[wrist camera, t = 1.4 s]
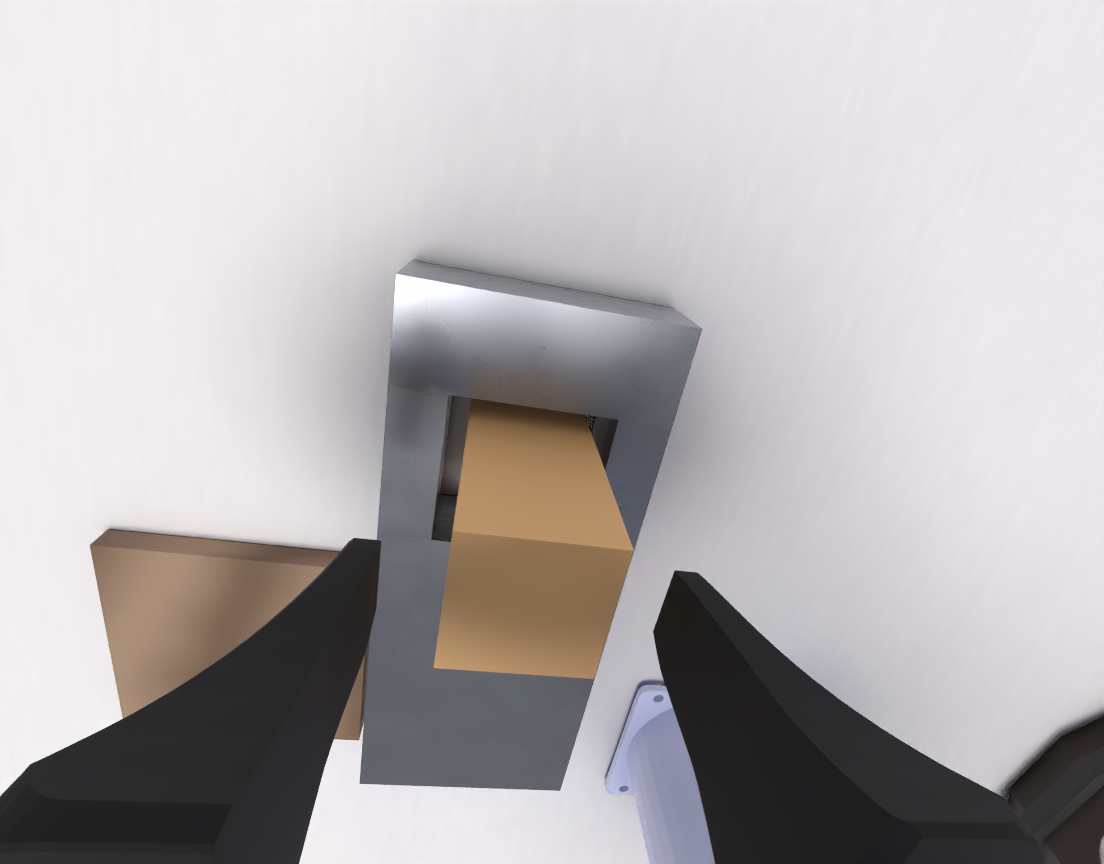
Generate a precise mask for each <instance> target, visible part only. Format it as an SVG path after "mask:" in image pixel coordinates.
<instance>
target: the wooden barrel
mask: <svg viewBox="0 0 1104 864" xmlns="http://www.w3.org/2000/svg"><path fill="white" fill-rule="evenodd" d="M1009 805H1010V806H1011V808H1012V809H1013V810H1014V811H1015V813H1016V814H1017V815H1018V816H1019V817H1020V819H1021V820H1022V821H1023V822H1024V824H1025V825H1026V826H1027V827H1028V829H1029V830H1030V831H1031V832H1032V834H1033V835H1034V836H1035V837H1036V839H1037V840H1038V841H1039V842H1040V844H1041V845H1042V846H1043V849H1044V856H1045V859H1044V864H1104V717H1102V718H1100V719H1098V720H1095V721H1093V722H1091V723H1089V724H1087V725H1085V726H1083V727H1080V728H1078V729H1076V730H1074V731H1072V732H1070V733H1068V734H1065V735H1063V736H1061V737H1060V738H1059V739H1058V740H1057V741H1056V742H1055V743H1054V744H1053V745H1052V746H1051V747H1050V748H1049V749H1048V750H1047V751H1046V752H1045V753H1044V754H1043V755H1042V756H1041V757H1040V758H1039V759H1038V760H1037V761H1036V762H1035V763H1034V764H1033V765H1032V766H1031V767H1030V768H1029V769H1028V770H1027V771H1026V772H1025V773H1024V774H1023V775H1022V776H1021V777H1020V778H1019V779H1018V780H1017V781H1016V782H1015V783H1014V784H1013V785H1012V786H1011V787H1010V793H1009Z"/></svg>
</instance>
